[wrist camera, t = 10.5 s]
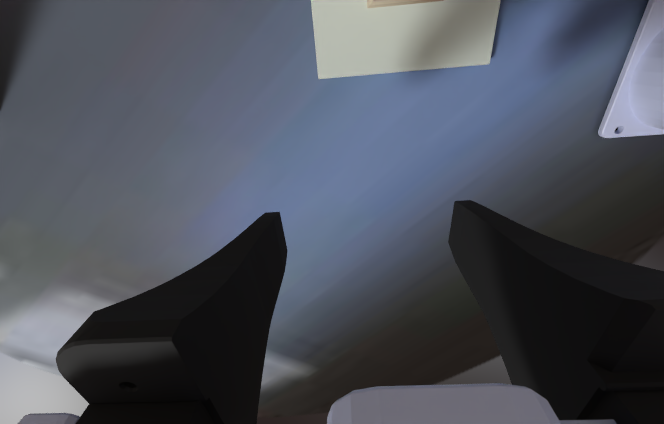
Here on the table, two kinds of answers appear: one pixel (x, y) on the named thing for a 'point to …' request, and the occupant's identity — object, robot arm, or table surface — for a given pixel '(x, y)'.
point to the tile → (401, 36)
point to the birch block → (394, 2)
